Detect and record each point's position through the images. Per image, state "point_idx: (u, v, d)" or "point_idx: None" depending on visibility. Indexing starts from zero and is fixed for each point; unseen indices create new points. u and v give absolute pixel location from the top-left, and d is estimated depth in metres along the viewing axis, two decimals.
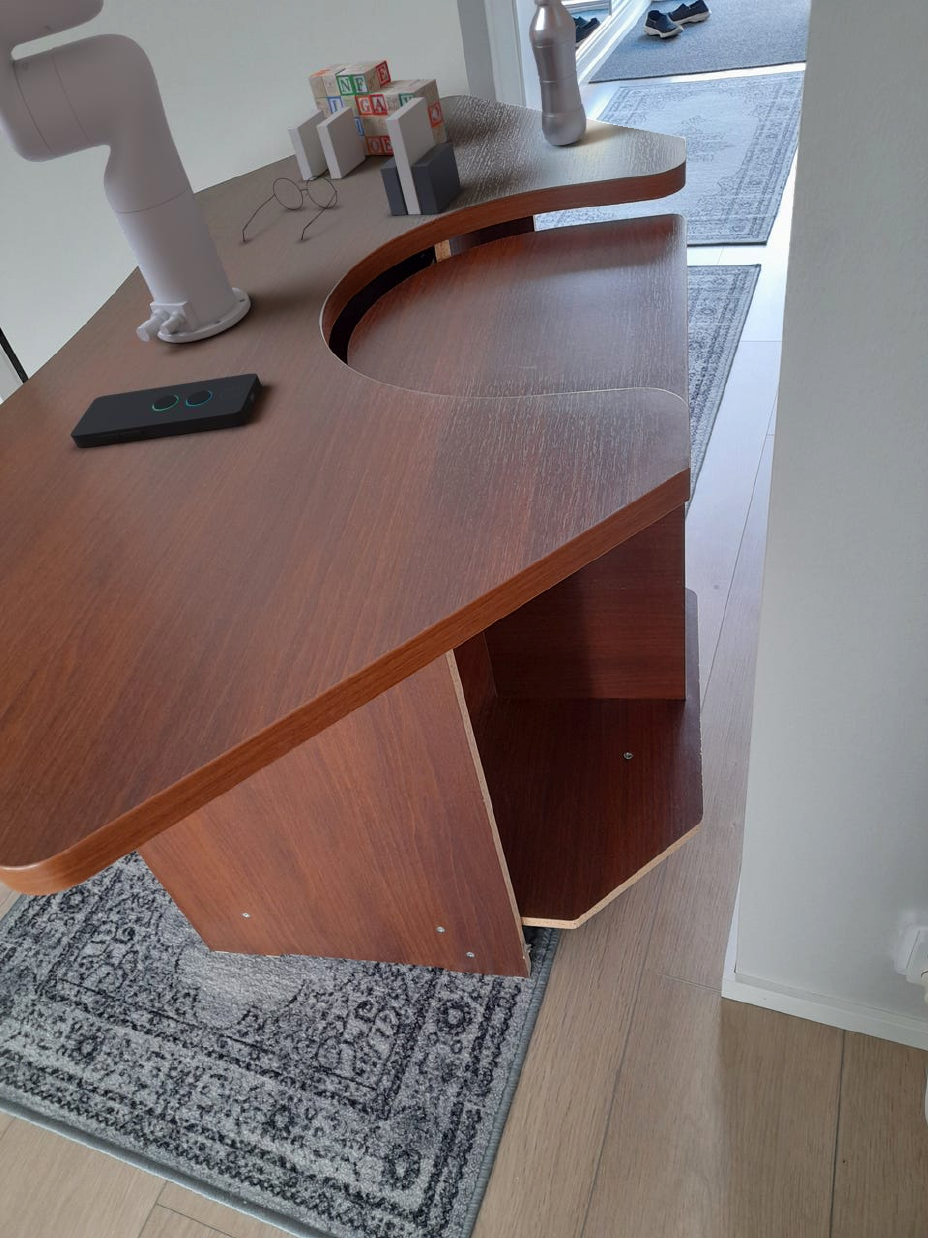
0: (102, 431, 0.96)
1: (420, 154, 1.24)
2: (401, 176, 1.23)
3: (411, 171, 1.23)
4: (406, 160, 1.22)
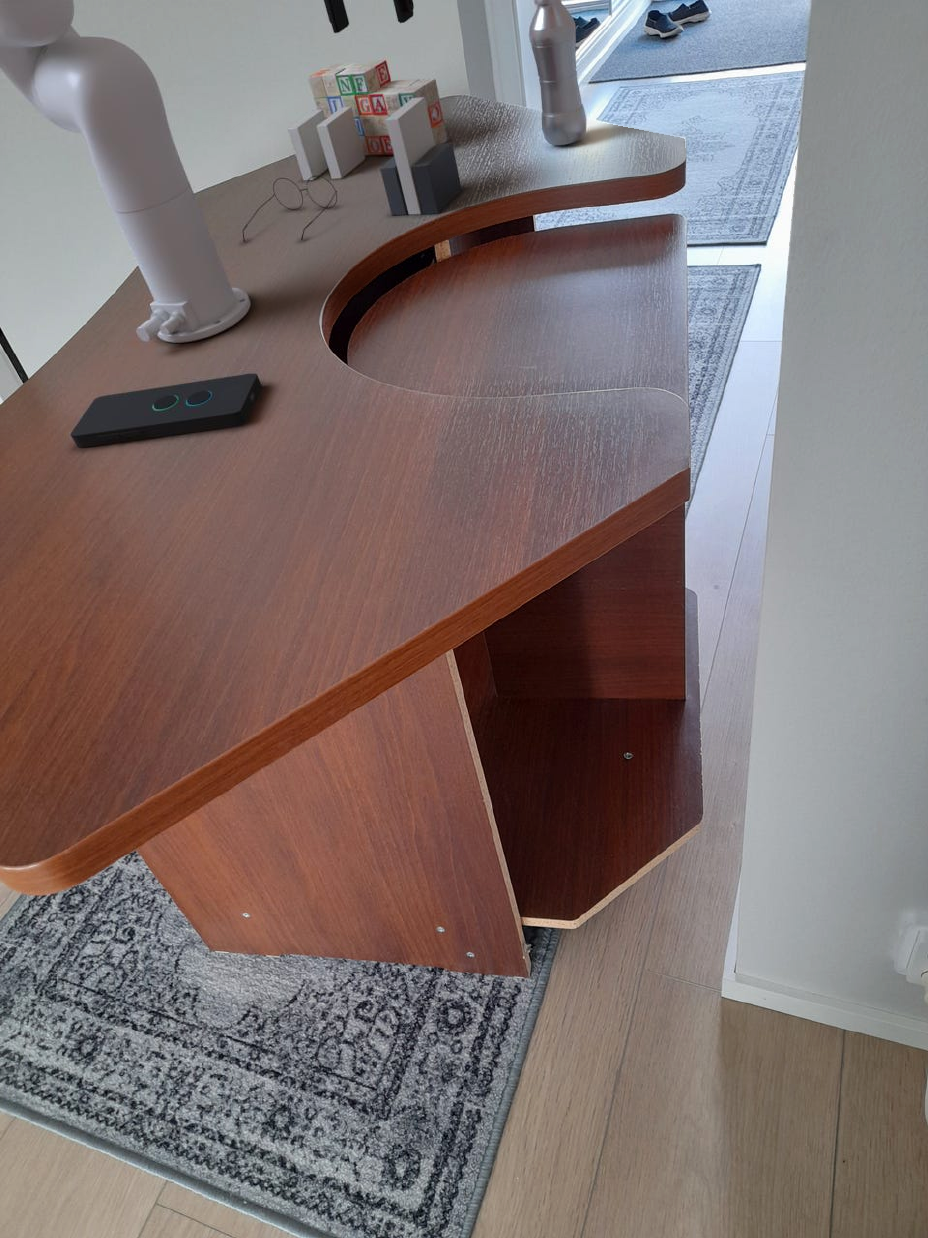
0: (102, 431, 0.96)
1: (420, 154, 1.24)
2: (401, 176, 1.23)
3: (411, 171, 1.23)
4: (406, 160, 1.22)
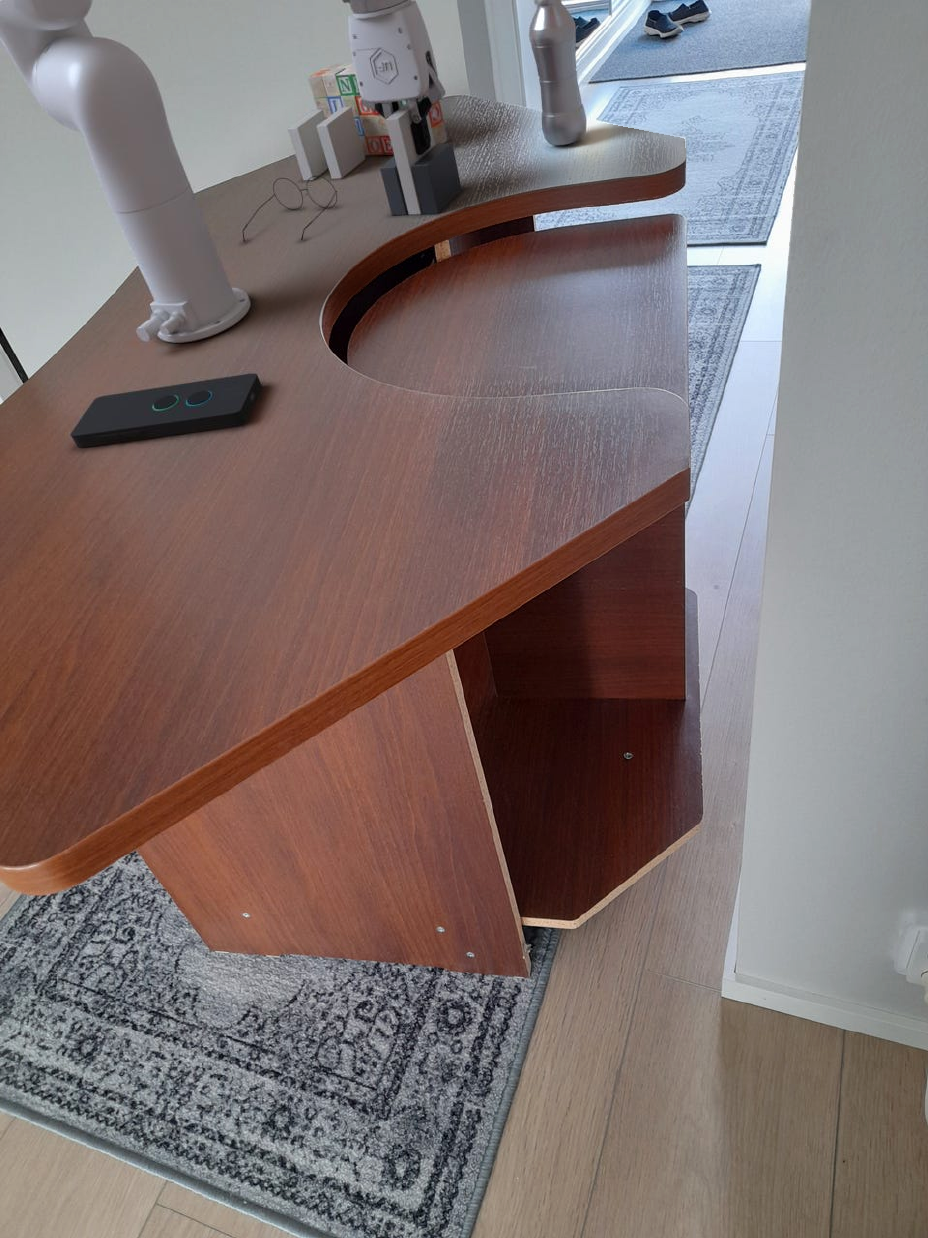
0: (102, 431, 0.96)
1: None
2: (401, 176, 1.23)
3: (411, 171, 1.23)
4: (406, 160, 1.22)
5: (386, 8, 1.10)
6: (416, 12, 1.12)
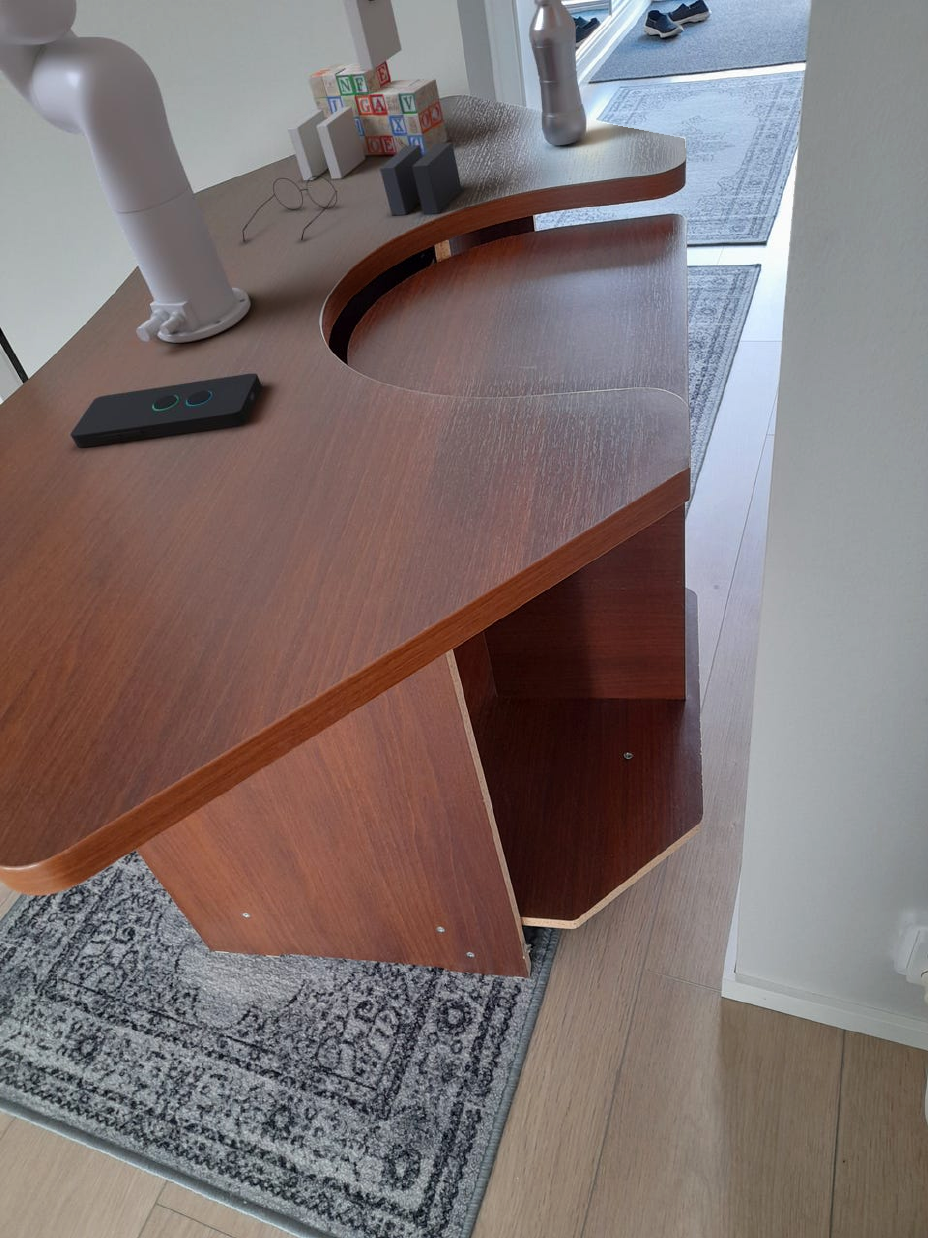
0: (102, 431, 0.96)
1: None
2: (351, 24, 1.13)
3: (361, 18, 1.13)
4: (355, 4, 1.12)
5: None
6: None
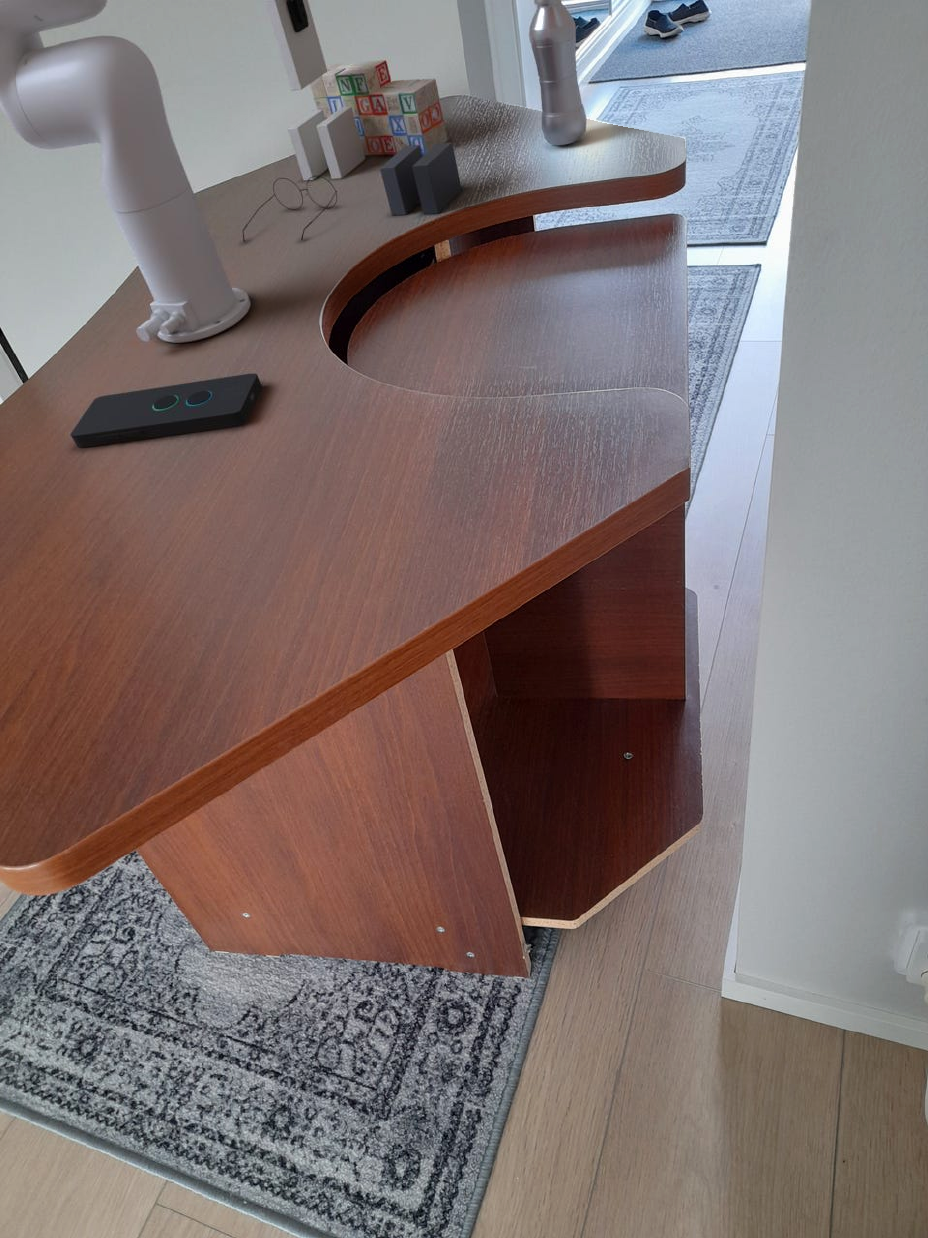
0: (102, 431, 0.96)
1: None
2: (281, 52, 1.34)
3: (289, 46, 1.33)
4: (284, 35, 1.32)
5: None
6: None
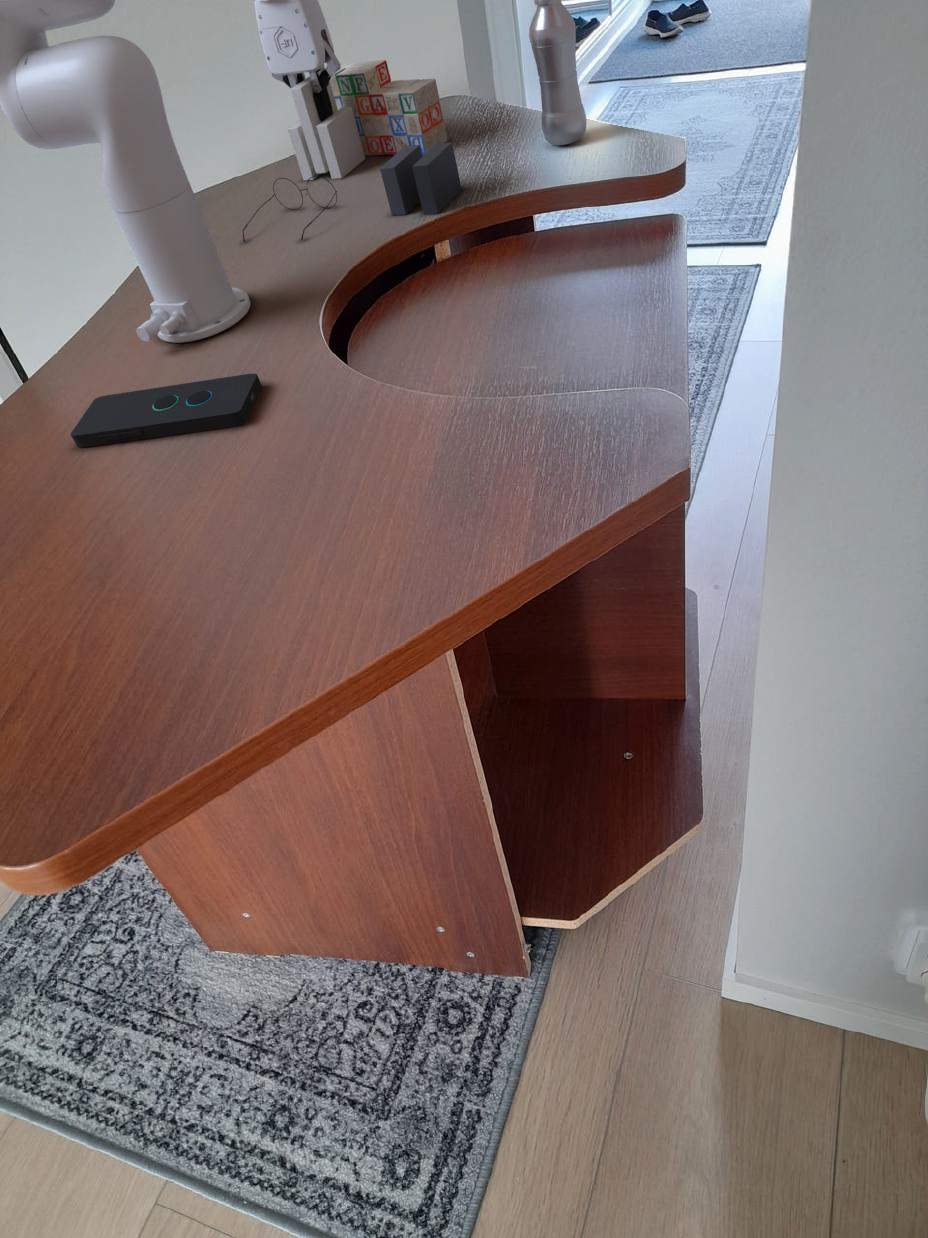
0: (102, 431, 0.96)
1: None
2: (307, 139, 1.42)
3: (315, 134, 1.42)
4: (310, 125, 1.40)
5: None
6: None
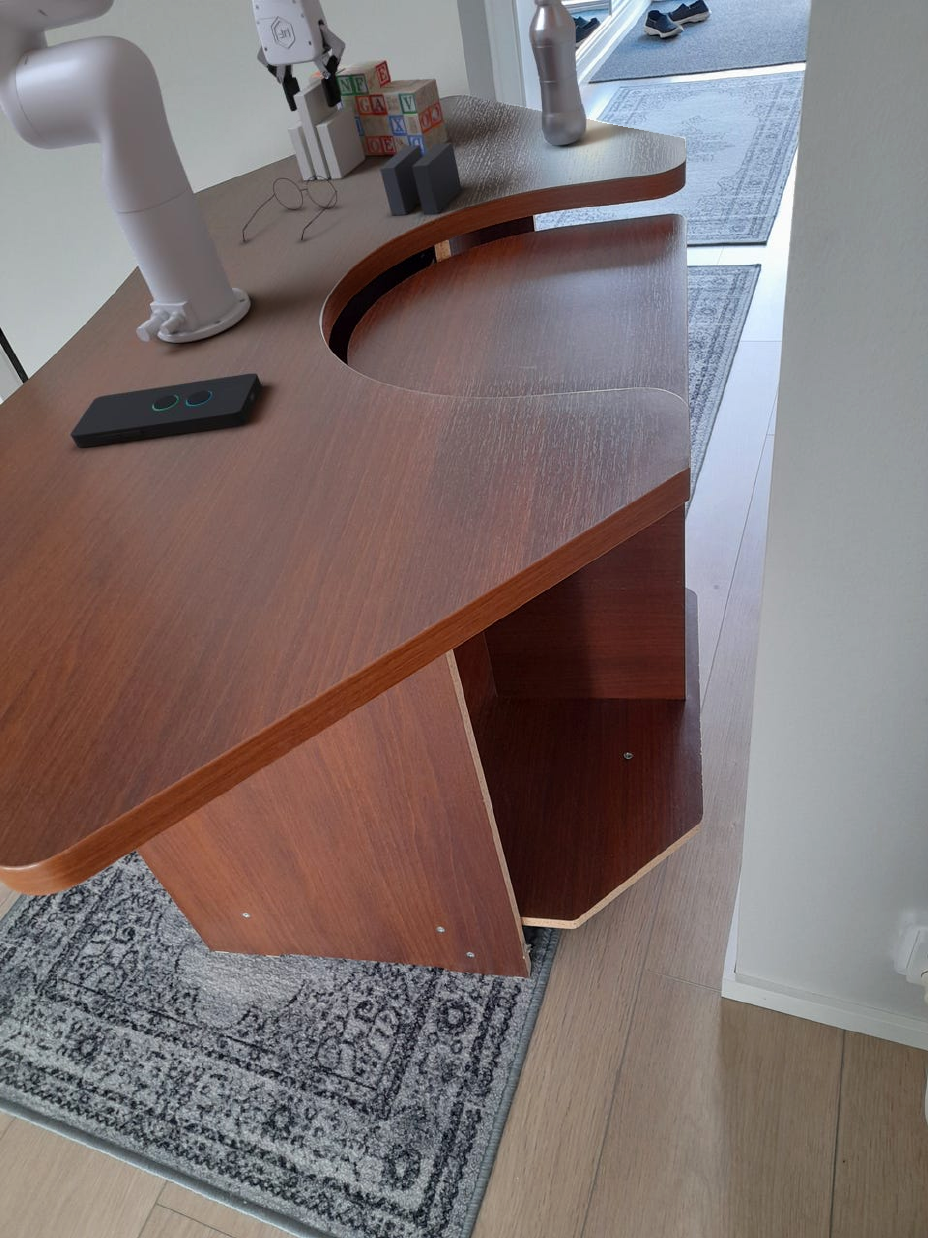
0: (102, 431, 0.96)
1: None
2: (309, 145, 1.43)
3: (317, 141, 1.42)
4: (312, 131, 1.41)
5: None
6: None
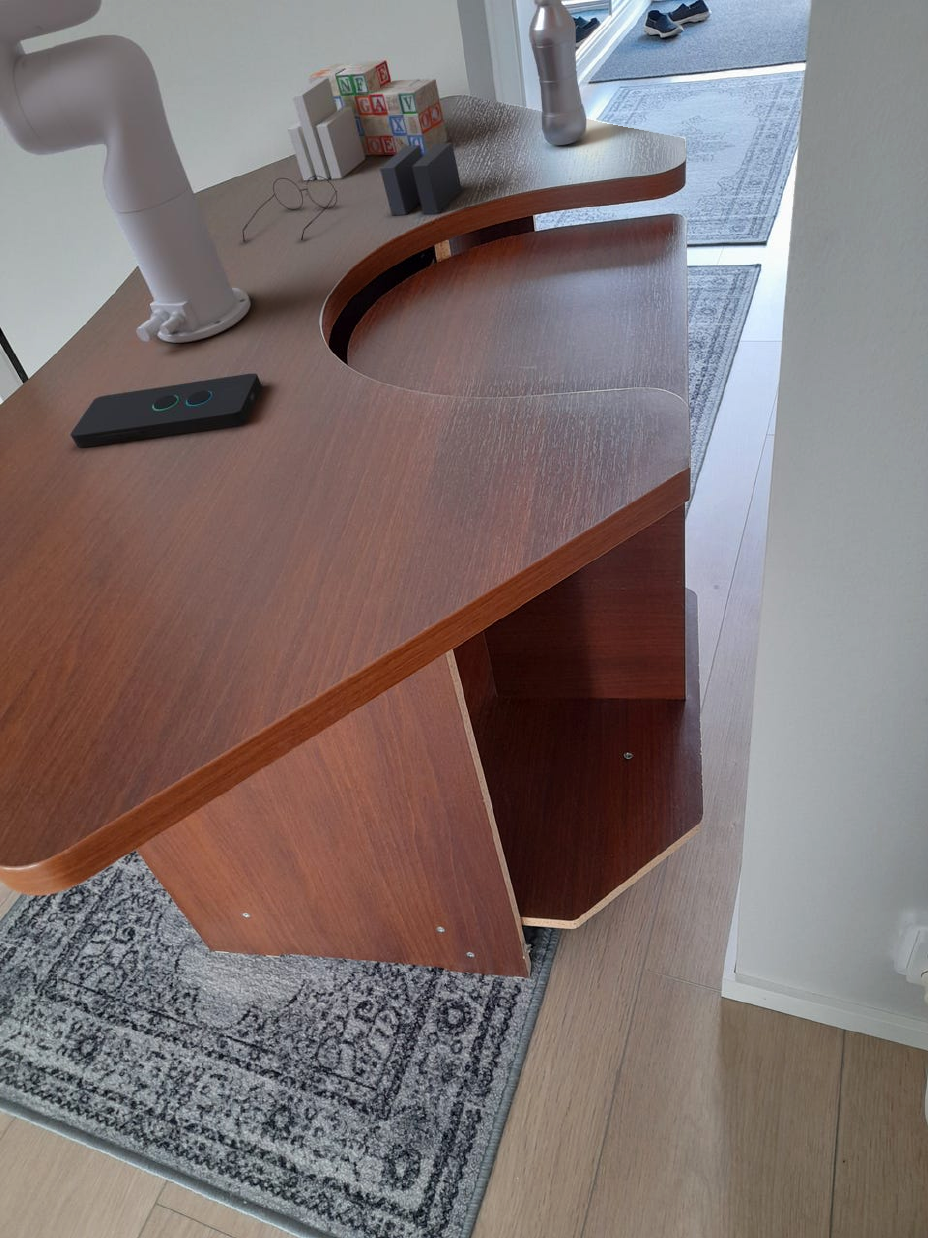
0: (102, 431, 0.96)
1: None
2: (308, 146, 1.43)
3: (317, 141, 1.42)
4: (312, 132, 1.41)
5: None
6: None
